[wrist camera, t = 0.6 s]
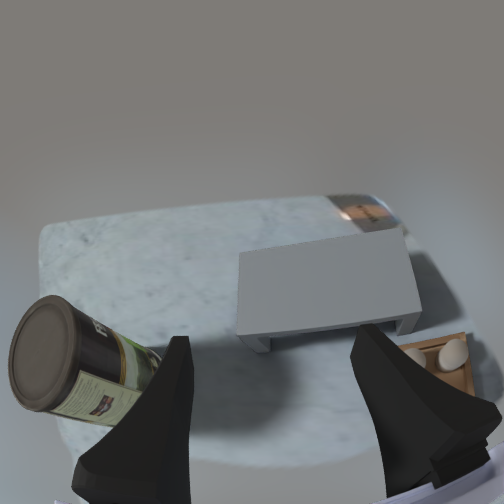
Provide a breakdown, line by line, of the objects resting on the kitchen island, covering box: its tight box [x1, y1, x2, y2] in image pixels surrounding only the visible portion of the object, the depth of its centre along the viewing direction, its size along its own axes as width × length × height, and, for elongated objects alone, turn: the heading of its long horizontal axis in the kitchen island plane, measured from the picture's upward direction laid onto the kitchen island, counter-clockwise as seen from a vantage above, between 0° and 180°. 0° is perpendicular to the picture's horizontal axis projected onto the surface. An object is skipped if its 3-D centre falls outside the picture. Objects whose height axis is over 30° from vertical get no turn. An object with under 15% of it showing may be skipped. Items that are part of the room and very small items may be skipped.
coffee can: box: [8, 295, 162, 428], centre depth 26 cm, size 10×10×14 cm
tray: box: [398, 332, 475, 397], centre depth 21 cm, size 9×8×5 cm
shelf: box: [236, 227, 422, 353], centre depth 28 cm, size 8×15×6 cm, turn 89°
